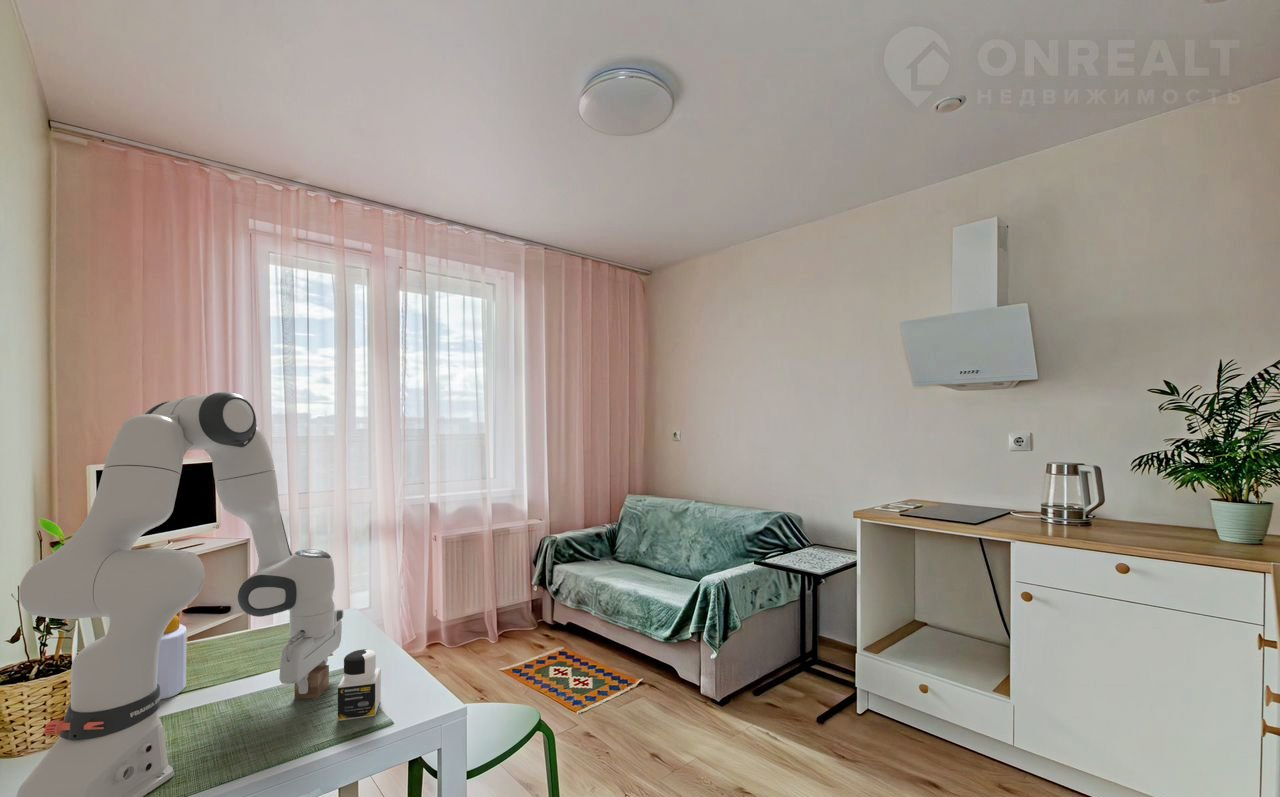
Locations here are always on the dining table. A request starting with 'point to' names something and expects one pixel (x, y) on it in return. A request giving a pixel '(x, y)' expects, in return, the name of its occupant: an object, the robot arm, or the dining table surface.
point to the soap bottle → (172, 659)
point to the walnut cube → (315, 682)
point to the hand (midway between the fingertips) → (312, 685)
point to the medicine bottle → (359, 686)
